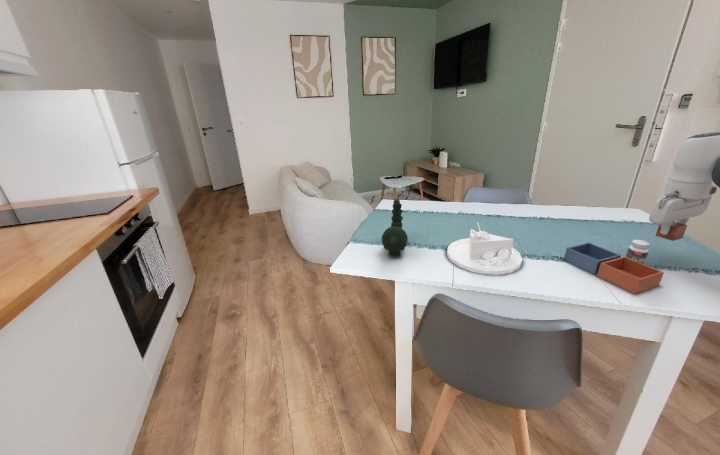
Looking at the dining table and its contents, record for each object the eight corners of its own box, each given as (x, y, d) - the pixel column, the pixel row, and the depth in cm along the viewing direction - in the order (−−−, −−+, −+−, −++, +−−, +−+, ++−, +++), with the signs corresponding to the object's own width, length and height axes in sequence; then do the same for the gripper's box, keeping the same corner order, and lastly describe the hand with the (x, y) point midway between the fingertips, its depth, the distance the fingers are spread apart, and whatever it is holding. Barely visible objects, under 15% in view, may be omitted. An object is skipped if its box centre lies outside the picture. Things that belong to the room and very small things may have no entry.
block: (682, 238, 91) (687, 225, 89) (672, 241, 90) (678, 227, 88) (664, 233, 95) (669, 220, 93) (655, 235, 94) (659, 222, 92)
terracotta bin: (658, 285, 84) (664, 272, 82) (634, 294, 81) (639, 280, 79) (619, 268, 93) (624, 256, 91) (596, 275, 90) (600, 262, 88)
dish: (446, 269, 97) (448, 239, 93) (448, 238, 119) (450, 212, 115) (528, 279, 90) (534, 246, 86) (514, 243, 112) (519, 216, 108)
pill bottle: (628, 268, 93) (636, 245, 89) (620, 261, 97) (627, 238, 94) (646, 269, 92) (655, 246, 88) (637, 262, 96) (645, 239, 93)
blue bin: (616, 267, 93) (621, 255, 92) (594, 274, 91) (598, 261, 89) (585, 253, 102) (588, 242, 101) (563, 259, 100) (566, 247, 98)
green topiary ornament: (386, 239, 125) (379, 263, 102) (385, 196, 120) (379, 211, 96) (408, 239, 124) (406, 264, 100) (408, 196, 118) (407, 212, 95)
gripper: (677, 197, 81) (661, 242, 86) (721, 187, 86) (704, 229, 92) (650, 192, 86) (636, 234, 92) (693, 182, 92) (678, 223, 97)
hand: (670, 232), depth 92 cm, fingers closed on block, 4 cm apart
